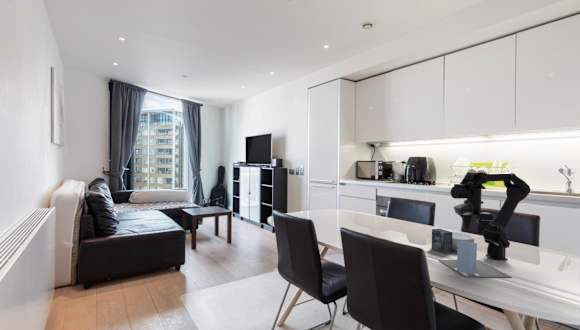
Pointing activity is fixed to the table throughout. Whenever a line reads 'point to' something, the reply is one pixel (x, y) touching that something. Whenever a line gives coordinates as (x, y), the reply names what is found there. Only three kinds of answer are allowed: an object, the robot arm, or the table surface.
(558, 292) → the table surface
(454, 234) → the cereal bowl
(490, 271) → the letter mat
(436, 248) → the box
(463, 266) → the dusty blue block
